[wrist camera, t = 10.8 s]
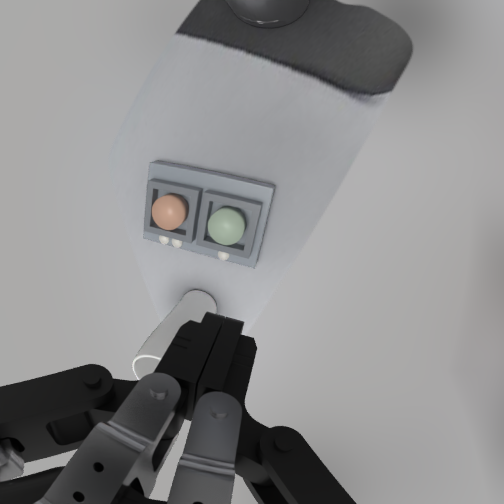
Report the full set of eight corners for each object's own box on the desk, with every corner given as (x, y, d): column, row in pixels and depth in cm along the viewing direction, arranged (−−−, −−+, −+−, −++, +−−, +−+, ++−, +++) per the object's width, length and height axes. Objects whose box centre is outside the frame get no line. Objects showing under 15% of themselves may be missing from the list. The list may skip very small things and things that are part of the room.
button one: (215, 202, 33) (210, 206, 32) (249, 210, 33) (246, 215, 31) (210, 234, 35) (205, 240, 33) (242, 243, 35) (239, 248, 33)
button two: (160, 190, 34) (153, 193, 32) (190, 196, 33) (185, 200, 32) (157, 221, 35) (150, 225, 34) (186, 228, 35) (180, 233, 33)
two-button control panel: (157, 160, 35) (143, 164, 31) (275, 185, 34) (272, 191, 30) (150, 233, 39) (137, 242, 36) (257, 261, 38) (252, 274, 35)
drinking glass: (181, 320, 44) (139, 390, 30) (175, 281, 41) (124, 349, 28) (224, 325, 43) (192, 403, 29) (221, 285, 40) (182, 361, 27)
